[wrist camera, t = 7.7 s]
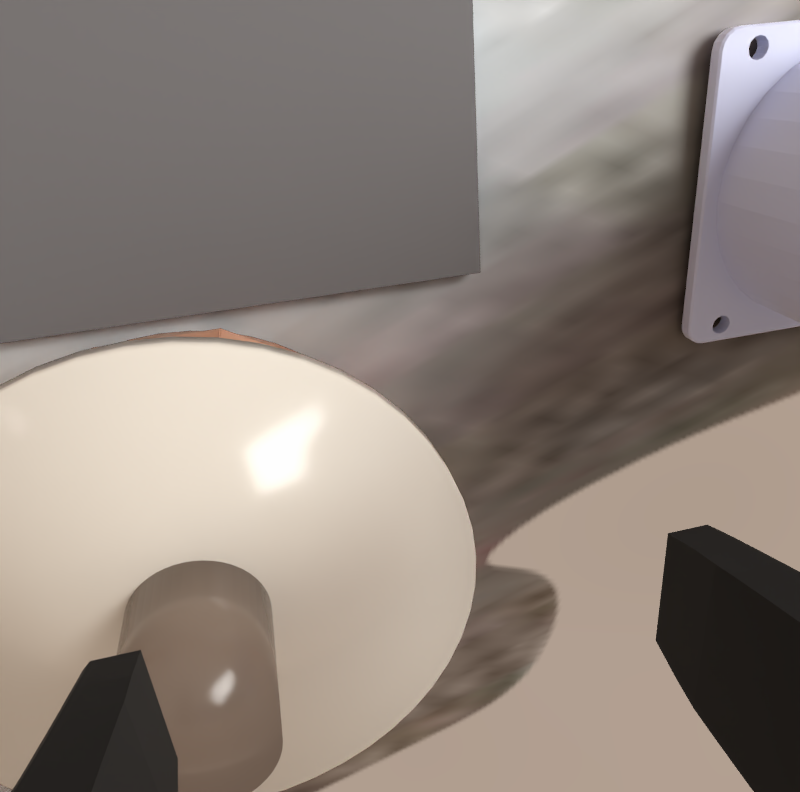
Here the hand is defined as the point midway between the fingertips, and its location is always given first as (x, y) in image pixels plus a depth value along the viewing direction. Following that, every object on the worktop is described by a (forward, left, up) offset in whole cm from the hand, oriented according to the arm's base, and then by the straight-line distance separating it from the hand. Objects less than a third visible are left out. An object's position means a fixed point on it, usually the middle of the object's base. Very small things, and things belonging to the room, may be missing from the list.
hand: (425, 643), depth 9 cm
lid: (+4, +4, -6) cm, 8 cm away
